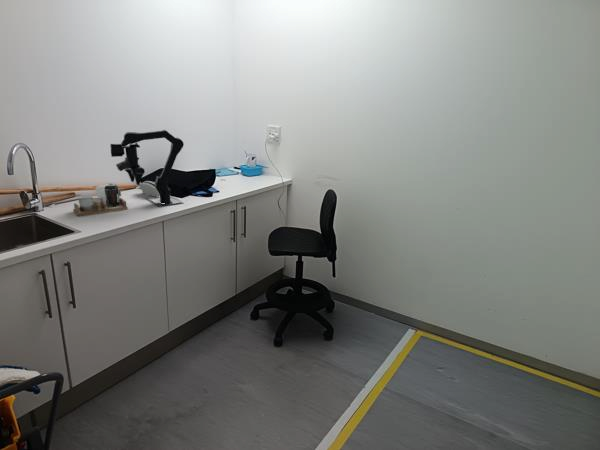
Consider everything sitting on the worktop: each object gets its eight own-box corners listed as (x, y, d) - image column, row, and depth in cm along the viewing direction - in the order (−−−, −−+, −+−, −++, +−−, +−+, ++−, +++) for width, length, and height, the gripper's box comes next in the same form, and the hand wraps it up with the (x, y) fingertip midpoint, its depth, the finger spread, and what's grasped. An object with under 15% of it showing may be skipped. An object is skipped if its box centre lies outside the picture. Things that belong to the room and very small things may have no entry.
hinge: (166, 196, 252) (160, 182, 246) (160, 200, 249) (154, 186, 243) (149, 191, 261) (143, 178, 255) (143, 195, 258) (137, 181, 252)
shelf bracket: (115, 208, 225) (110, 186, 222) (97, 207, 242) (93, 187, 239) (125, 206, 229) (120, 184, 226) (107, 205, 246) (102, 185, 243)
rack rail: (127, 209, 223) (126, 196, 220) (77, 216, 208) (75, 202, 205) (122, 205, 230) (121, 192, 228) (73, 211, 215) (71, 198, 213)
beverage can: (106, 208, 218) (104, 186, 214) (106, 204, 224) (103, 183, 220) (120, 206, 221) (118, 185, 217) (119, 203, 226) (117, 182, 223)
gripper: (111, 154, 224) (115, 182, 229) (121, 159, 210) (125, 188, 215) (132, 153, 230) (135, 179, 236) (143, 157, 217) (146, 186, 222)
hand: (135, 183), depth 227 cm, fingers open, 9 cm apart
